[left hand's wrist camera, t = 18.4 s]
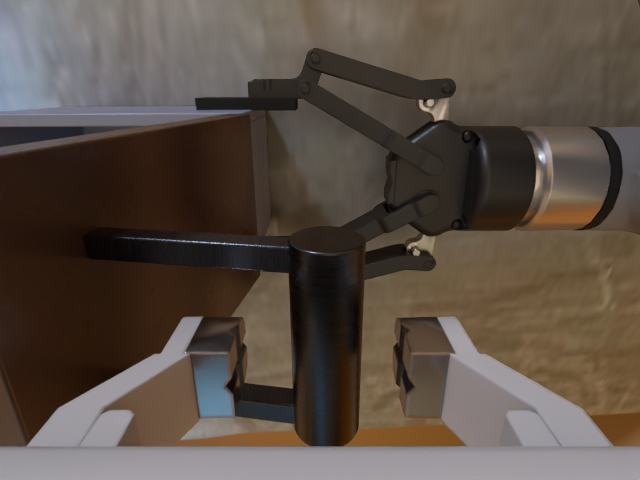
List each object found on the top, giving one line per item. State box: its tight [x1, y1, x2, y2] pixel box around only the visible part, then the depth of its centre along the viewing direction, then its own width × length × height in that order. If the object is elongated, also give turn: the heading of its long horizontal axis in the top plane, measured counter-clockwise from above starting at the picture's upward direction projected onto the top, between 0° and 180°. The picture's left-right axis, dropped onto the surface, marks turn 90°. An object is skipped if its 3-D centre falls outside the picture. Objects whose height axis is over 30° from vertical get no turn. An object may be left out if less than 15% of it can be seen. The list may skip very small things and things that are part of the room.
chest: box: [0, 106, 271, 236], centre depth 29 cm, size 16×10×11 cm, turn 90°
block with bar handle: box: [0, 114, 366, 446], centre depth 15 cm, size 16×10×8 cm
